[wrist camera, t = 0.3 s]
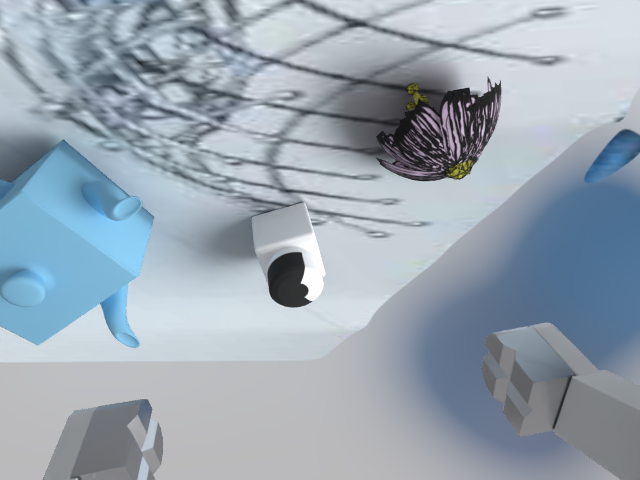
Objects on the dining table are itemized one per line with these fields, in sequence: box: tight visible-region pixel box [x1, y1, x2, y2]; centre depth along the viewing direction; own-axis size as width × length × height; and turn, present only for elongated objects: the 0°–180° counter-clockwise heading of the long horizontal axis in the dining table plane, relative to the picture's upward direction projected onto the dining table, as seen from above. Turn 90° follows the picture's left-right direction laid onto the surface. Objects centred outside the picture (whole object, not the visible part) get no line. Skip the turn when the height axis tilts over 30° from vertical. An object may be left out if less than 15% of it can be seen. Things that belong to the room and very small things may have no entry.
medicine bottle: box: [252, 203, 325, 307], centre depth 50 cm, size 7×7×12 cm
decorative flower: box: [376, 78, 501, 181], centre depth 45 cm, size 14×12×15 cm
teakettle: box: [0, 140, 154, 348], centre depth 42 cm, size 19×19×15 cm
